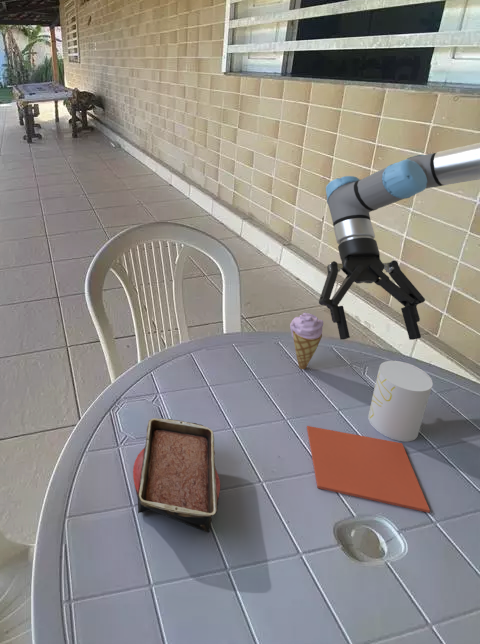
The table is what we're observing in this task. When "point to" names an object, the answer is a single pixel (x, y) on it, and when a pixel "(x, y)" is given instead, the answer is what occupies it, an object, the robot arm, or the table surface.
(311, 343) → the ice cream cone
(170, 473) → the baking dish
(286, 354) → the table surface
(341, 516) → the table surface
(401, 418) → the cup
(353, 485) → the mat
